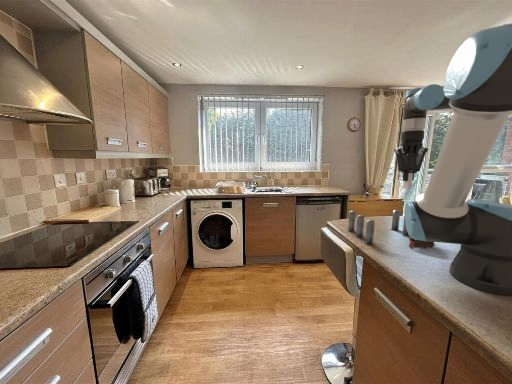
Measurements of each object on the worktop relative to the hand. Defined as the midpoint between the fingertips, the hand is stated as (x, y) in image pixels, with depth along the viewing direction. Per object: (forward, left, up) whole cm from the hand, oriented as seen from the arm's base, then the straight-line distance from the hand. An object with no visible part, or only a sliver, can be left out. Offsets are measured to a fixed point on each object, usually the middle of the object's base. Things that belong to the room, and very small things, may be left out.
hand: (407, 188), depth 92 cm
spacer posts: (+5, +5, -23) cm, 24 cm away
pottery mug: (-7, -2, -23) cm, 24 cm away
